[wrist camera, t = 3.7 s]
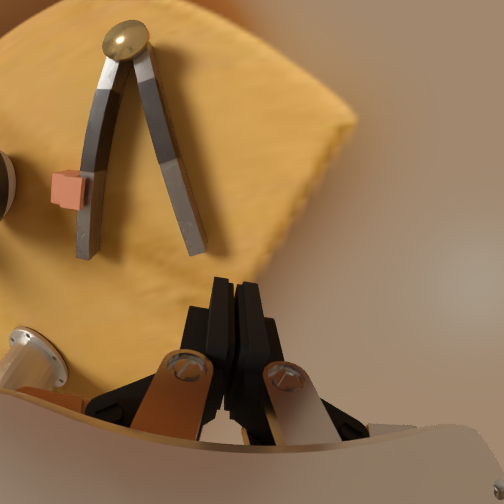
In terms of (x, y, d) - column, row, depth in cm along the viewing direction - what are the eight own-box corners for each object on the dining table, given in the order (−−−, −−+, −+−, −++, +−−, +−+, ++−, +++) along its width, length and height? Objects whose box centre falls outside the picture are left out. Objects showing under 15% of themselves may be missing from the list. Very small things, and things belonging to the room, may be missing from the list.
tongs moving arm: (207, 241, 28) (205, 252, 25) (193, 245, 28) (189, 257, 25) (152, 46, 20) (144, 34, 17) (138, 51, 20) (128, 41, 17)
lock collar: (97, 201, 25) (79, 210, 21) (66, 196, 25) (45, 204, 21) (100, 173, 24) (81, 178, 20) (69, 169, 24) (47, 174, 20)
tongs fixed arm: (118, 254, 28) (104, 269, 24) (85, 247, 27) (68, 260, 23) (162, 35, 20) (153, 19, 16) (124, 35, 19) (111, 21, 15)
